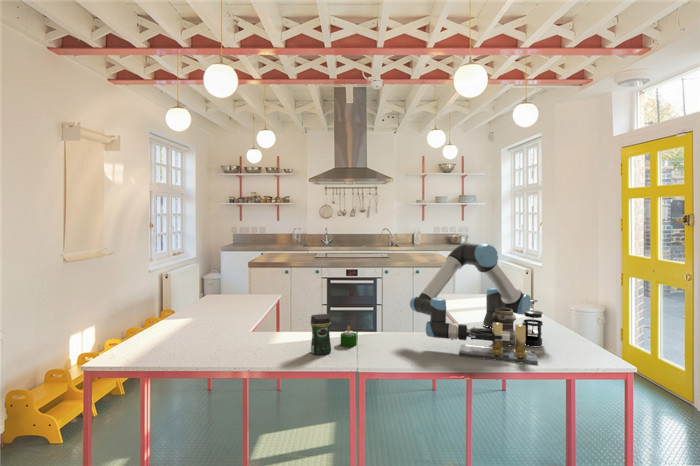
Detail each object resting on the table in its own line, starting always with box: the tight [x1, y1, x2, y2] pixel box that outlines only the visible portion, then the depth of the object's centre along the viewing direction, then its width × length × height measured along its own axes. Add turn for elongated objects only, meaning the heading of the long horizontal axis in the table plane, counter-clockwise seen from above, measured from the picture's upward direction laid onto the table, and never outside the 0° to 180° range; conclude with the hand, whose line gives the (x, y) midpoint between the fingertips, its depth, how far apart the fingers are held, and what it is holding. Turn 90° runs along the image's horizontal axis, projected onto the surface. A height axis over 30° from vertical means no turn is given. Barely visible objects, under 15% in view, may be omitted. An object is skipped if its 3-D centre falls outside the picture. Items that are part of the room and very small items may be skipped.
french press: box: [521, 299, 544, 347], centre depth 213 cm, size 12×9×23 cm
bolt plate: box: [458, 323, 539, 365], centre depth 196 cm, size 34×14×15 cm, turn 70°
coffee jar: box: [310, 313, 332, 356], centre depth 200 cm, size 10×8×19 cm
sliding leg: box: [491, 322, 504, 355], centre depth 195 cm, size 5×8×14 cm, turn 160°
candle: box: [340, 325, 358, 348], centre depth 212 cm, size 8×8×10 cm
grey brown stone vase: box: [492, 308, 517, 347], centre depth 214 cm, size 12×12×18 cm
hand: (509, 336), depth 194 cm, fingers closed on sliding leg, 4 cm apart
